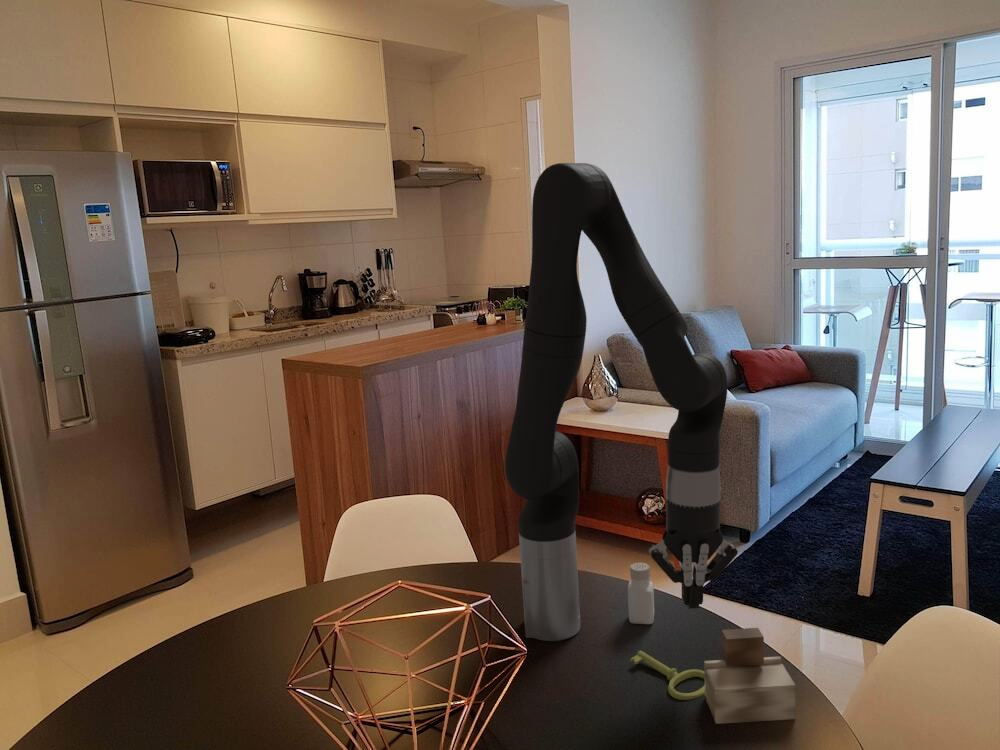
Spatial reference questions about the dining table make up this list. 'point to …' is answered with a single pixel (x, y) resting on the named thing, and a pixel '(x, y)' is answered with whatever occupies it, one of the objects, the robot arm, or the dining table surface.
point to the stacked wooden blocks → (742, 650)
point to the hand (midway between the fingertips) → (692, 605)
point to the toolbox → (750, 693)
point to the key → (672, 676)
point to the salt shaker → (640, 595)
